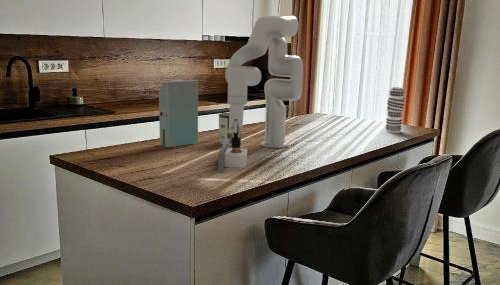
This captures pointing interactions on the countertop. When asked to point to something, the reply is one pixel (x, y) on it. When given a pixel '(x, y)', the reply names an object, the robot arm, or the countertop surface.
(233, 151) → the dowel
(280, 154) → the countertop surface
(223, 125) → the coffee can
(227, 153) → the socket block
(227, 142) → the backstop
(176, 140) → the device
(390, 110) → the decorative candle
